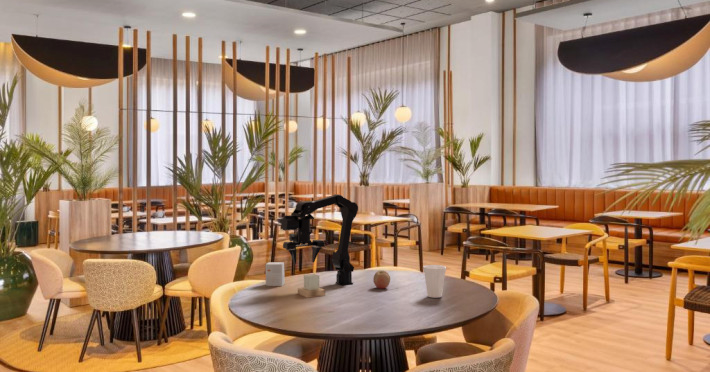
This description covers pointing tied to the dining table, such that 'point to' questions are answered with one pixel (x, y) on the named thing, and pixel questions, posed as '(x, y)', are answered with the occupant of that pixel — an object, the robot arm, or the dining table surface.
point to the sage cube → (311, 282)
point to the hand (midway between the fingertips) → (304, 263)
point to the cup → (434, 279)
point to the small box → (275, 274)
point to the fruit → (381, 279)
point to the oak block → (311, 292)
